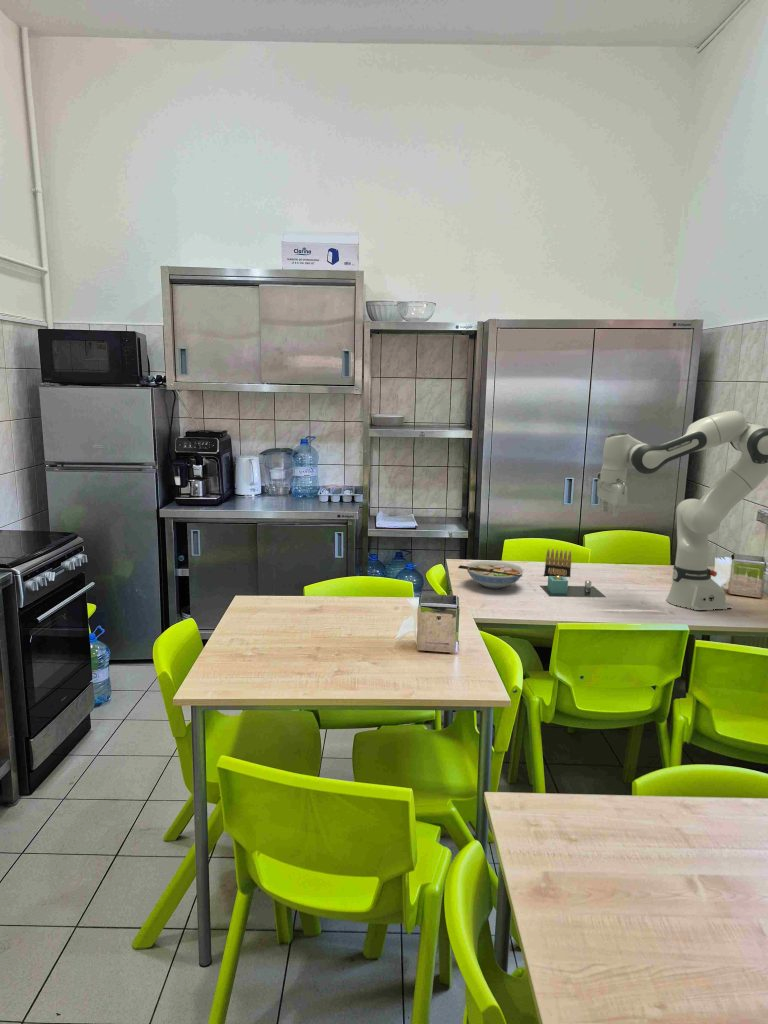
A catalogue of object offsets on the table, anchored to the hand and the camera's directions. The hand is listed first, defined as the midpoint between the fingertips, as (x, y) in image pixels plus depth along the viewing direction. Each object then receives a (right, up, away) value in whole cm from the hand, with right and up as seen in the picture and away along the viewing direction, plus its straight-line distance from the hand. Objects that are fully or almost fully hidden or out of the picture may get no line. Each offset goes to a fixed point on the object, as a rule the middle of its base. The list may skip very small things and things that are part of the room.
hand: (609, 514), depth 250 cm
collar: (-16, -30, +13) cm, 36 cm away
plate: (-10, -31, +13) cm, 35 cm away
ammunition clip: (-11, -27, +35) cm, 46 cm away
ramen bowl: (-40, -29, +20) cm, 53 cm away
